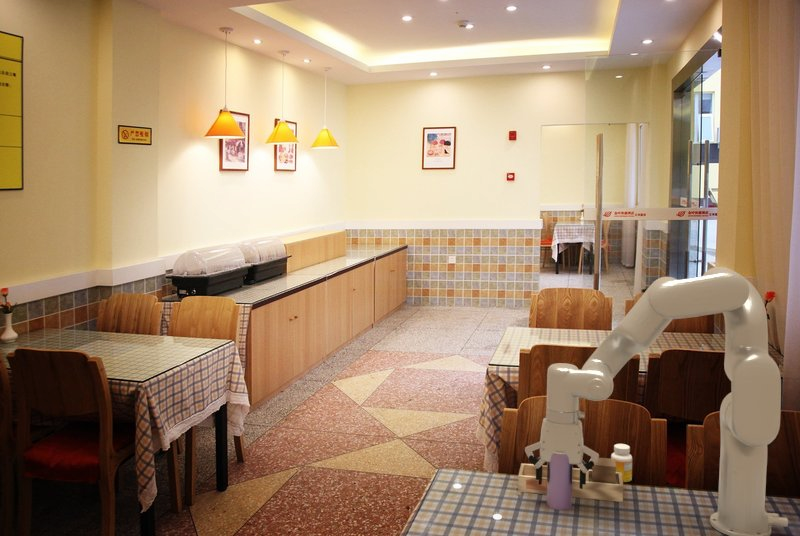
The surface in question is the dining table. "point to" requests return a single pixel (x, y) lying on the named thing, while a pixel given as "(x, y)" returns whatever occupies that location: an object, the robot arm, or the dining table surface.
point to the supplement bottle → (623, 461)
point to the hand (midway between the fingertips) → (560, 484)
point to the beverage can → (559, 482)
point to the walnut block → (604, 471)
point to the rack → (589, 490)
